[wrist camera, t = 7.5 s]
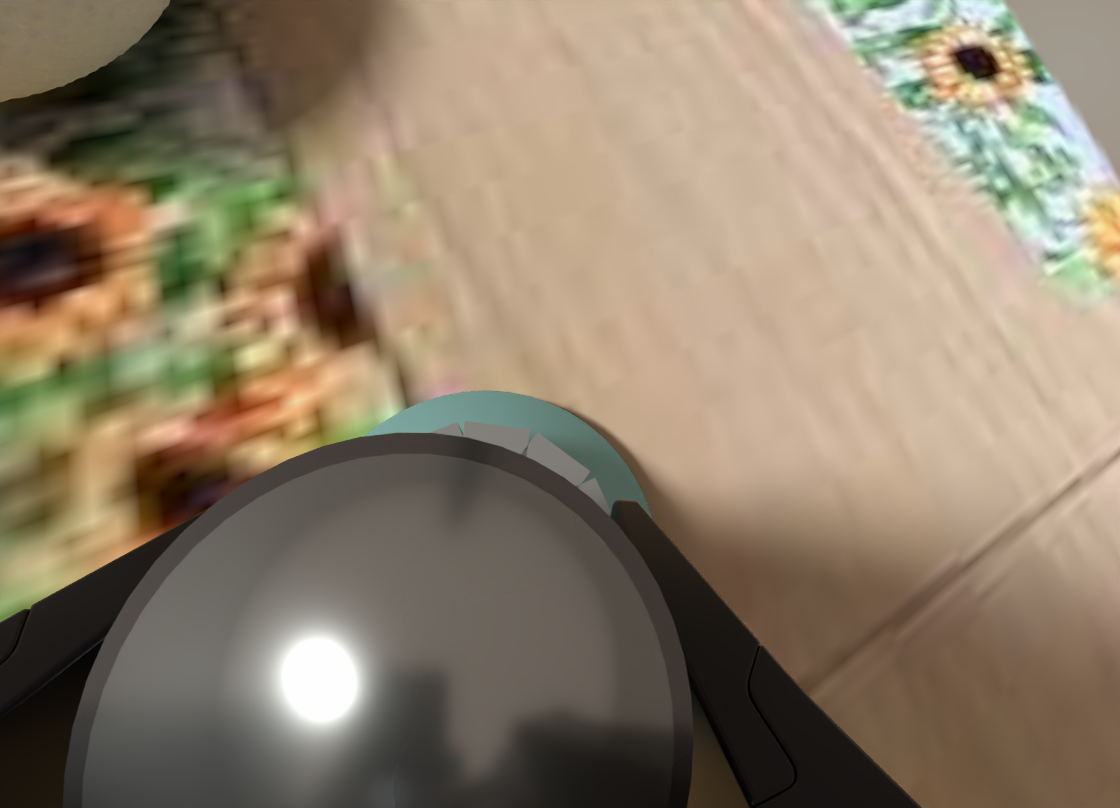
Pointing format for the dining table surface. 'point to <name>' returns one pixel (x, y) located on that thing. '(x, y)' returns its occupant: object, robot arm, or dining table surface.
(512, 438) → the collar
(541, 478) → the gray tube
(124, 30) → the cereal bowl
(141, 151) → the dining table surface
